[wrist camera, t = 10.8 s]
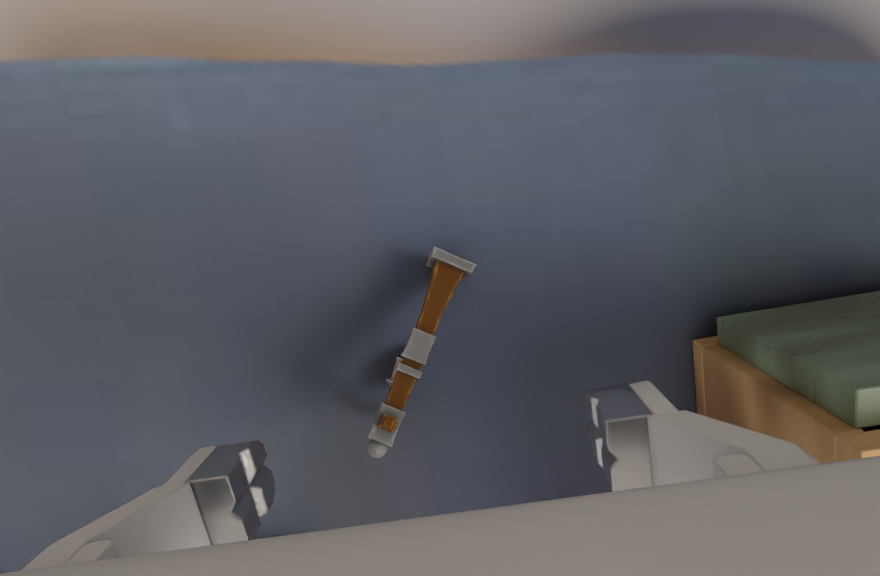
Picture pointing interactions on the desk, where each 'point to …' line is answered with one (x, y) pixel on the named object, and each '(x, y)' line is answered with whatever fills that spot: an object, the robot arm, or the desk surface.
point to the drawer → (817, 352)
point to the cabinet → (772, 407)
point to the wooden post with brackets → (417, 347)
